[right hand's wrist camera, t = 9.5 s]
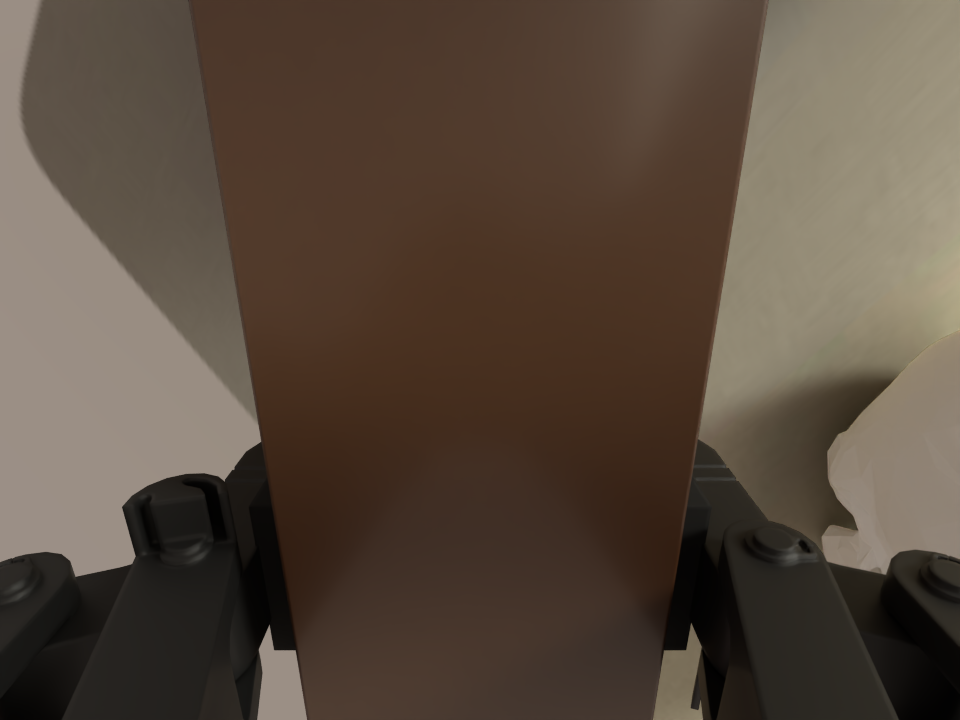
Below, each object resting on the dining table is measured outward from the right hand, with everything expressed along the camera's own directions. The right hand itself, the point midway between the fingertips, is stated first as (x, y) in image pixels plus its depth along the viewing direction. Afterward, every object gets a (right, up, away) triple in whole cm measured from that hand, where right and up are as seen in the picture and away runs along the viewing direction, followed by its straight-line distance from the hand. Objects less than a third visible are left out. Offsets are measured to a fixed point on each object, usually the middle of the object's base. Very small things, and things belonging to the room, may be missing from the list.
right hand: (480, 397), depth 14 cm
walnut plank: (0, +9, -3) cm, 9 cm away
